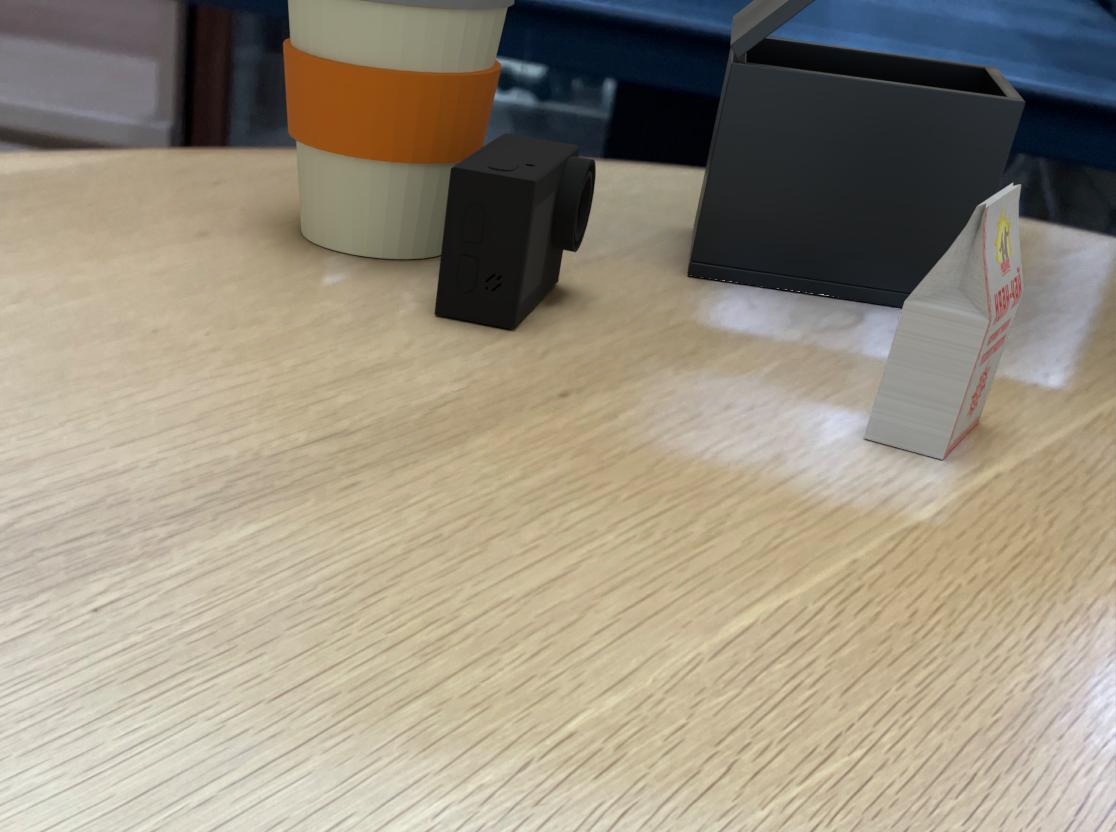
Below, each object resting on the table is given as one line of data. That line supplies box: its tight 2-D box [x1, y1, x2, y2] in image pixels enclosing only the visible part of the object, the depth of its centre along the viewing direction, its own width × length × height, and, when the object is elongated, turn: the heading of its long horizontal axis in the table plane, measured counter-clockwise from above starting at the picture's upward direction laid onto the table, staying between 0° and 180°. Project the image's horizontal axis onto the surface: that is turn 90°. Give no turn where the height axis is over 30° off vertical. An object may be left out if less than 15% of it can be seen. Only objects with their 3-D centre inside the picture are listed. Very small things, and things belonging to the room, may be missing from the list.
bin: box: [686, 36, 1026, 308], centre depth 89 cm, size 16×13×11 cm
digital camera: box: [434, 133, 597, 330], centre depth 79 cm, size 10×5×7 cm, turn 161°
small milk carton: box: [863, 182, 1025, 461], centre depth 68 cm, size 4×7×10 cm, turn 149°
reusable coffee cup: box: [282, 0, 515, 260], centre depth 84 cm, size 13×13×15 cm
